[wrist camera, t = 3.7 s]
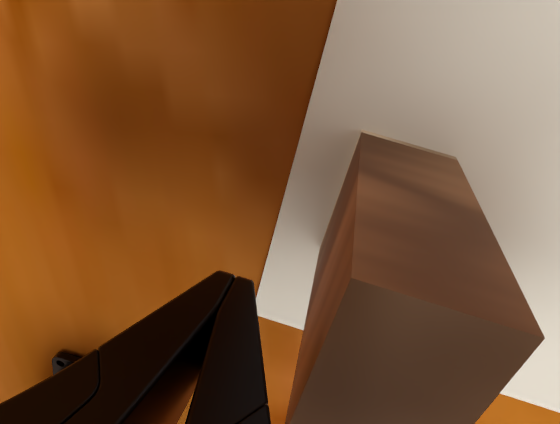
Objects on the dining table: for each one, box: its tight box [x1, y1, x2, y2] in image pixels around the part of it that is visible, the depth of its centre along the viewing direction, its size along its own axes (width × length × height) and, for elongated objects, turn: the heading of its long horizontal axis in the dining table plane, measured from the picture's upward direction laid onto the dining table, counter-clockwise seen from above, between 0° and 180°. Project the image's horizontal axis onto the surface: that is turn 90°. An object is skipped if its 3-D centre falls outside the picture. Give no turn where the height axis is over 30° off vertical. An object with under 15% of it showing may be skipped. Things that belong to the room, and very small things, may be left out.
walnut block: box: [285, 130, 545, 424], centre depth 11 cm, size 3×5×8 cm, turn 166°
